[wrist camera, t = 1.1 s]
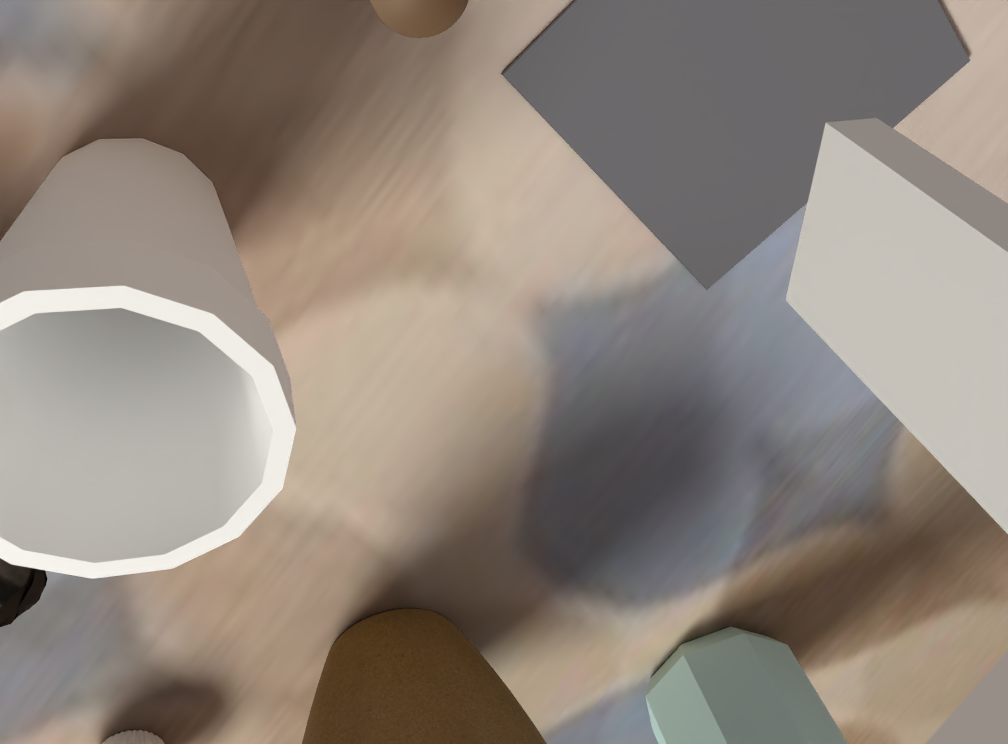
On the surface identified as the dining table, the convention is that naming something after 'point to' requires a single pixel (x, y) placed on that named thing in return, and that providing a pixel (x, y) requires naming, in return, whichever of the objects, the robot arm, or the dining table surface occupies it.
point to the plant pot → (413, 688)
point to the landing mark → (726, 102)
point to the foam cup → (132, 370)
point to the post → (419, 15)
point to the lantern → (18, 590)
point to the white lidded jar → (134, 738)
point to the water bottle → (737, 694)
